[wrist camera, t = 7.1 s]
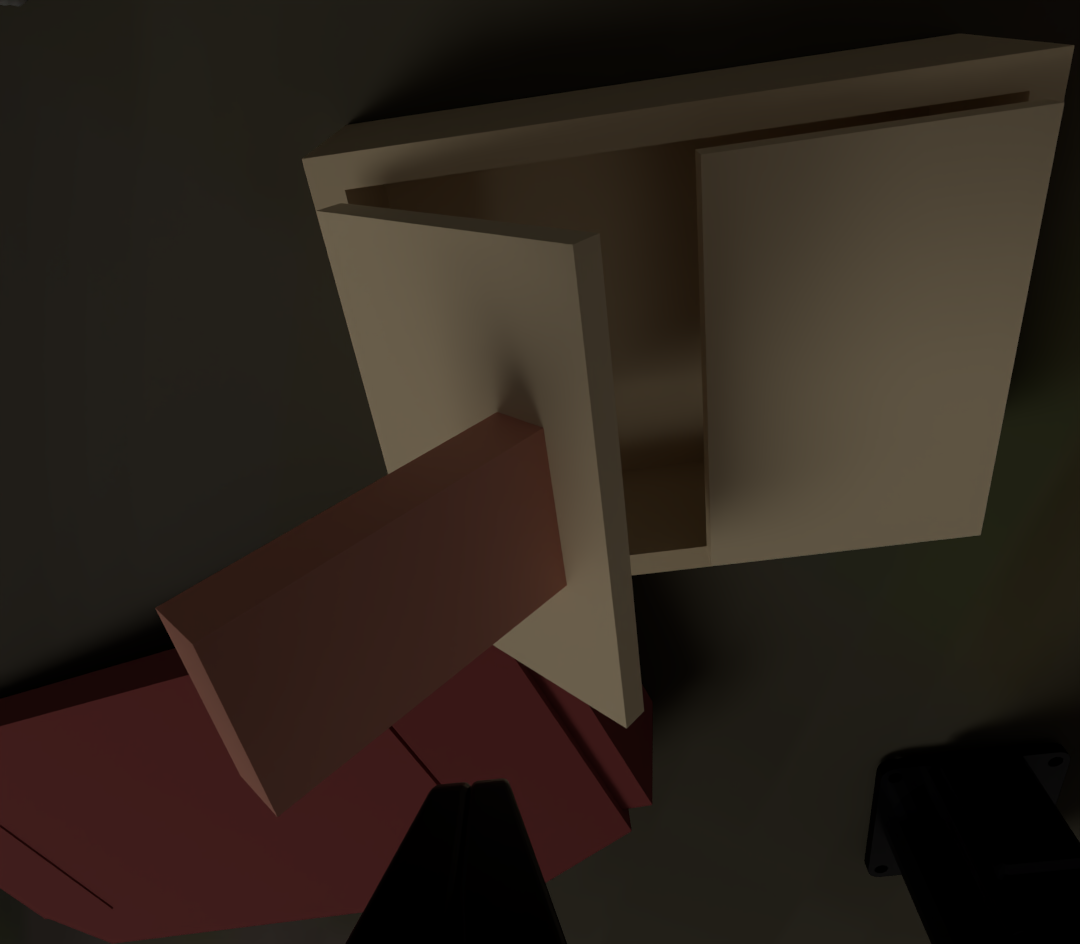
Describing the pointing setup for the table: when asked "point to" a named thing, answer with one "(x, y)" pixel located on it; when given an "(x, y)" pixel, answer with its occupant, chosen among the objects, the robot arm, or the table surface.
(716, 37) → the table surface
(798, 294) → the flap
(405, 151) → the small beige cabinet
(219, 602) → the flap
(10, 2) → the grey rounded lump
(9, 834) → the carton
